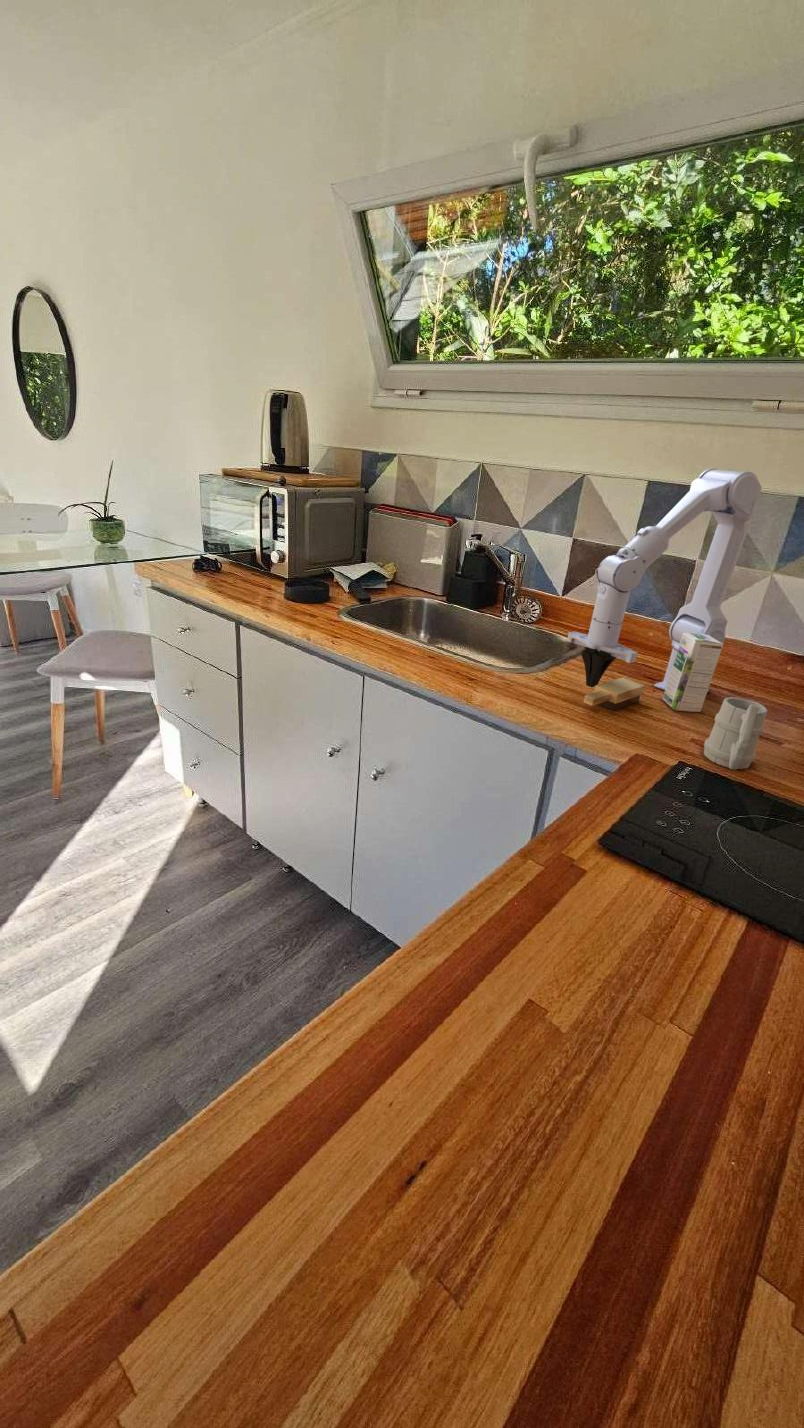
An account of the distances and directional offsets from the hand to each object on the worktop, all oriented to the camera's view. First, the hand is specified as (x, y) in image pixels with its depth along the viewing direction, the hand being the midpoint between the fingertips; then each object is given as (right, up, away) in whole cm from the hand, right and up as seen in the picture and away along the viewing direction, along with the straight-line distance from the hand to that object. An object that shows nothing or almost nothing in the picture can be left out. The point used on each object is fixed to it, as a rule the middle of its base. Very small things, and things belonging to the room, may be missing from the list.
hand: (591, 685), depth 120 cm
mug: (+15, -14, -23) cm, 31 cm away
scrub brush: (+2, -4, -4) cm, 6 cm away
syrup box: (+18, -4, -1) cm, 18 cm away
